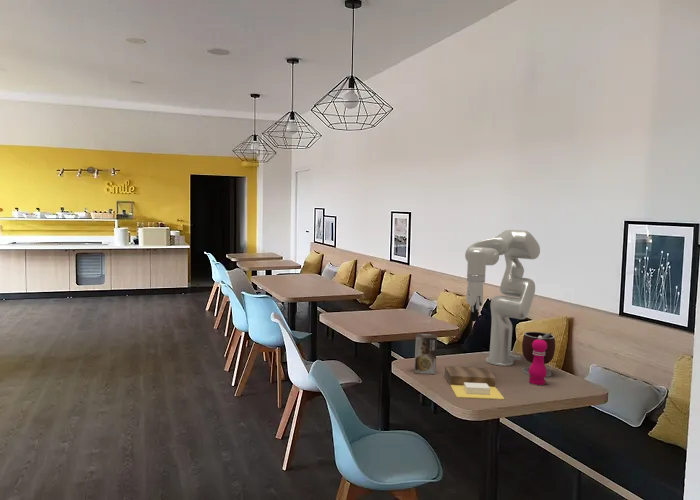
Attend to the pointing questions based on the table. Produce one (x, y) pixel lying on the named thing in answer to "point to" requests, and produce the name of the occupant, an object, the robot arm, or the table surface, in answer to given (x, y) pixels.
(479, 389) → the white rectangular block
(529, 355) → the mate gourd
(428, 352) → the coffee box
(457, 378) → the walnut board
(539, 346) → the pepper mill
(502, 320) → the robot arm
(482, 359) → the table surface
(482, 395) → the mustard mat
